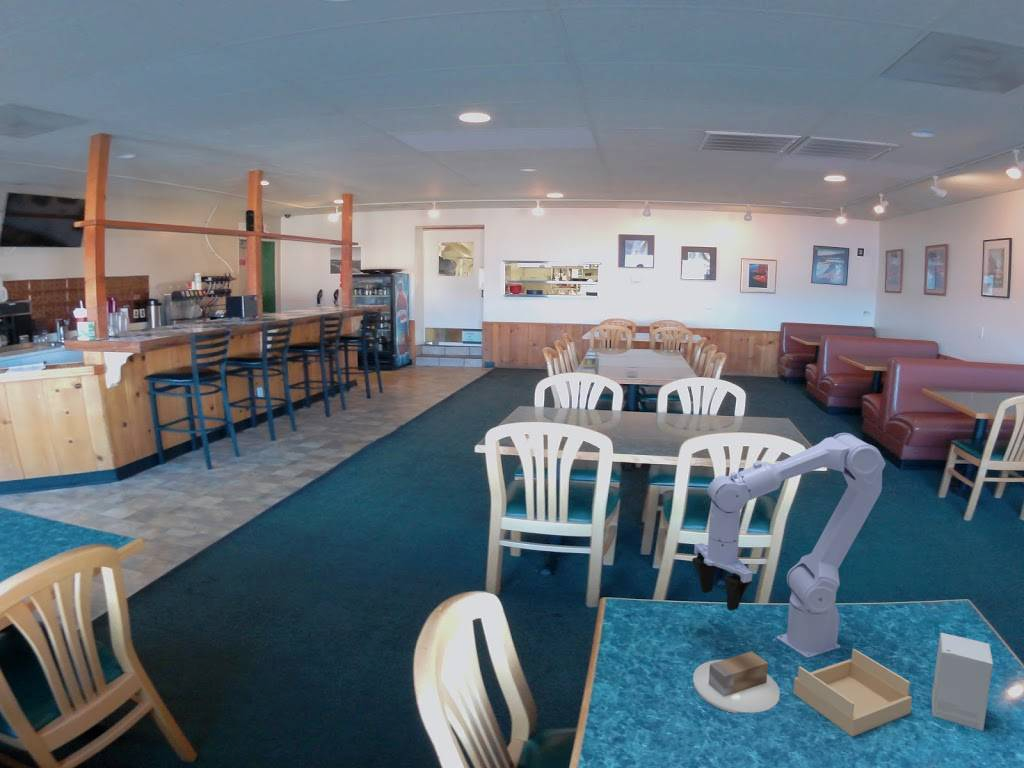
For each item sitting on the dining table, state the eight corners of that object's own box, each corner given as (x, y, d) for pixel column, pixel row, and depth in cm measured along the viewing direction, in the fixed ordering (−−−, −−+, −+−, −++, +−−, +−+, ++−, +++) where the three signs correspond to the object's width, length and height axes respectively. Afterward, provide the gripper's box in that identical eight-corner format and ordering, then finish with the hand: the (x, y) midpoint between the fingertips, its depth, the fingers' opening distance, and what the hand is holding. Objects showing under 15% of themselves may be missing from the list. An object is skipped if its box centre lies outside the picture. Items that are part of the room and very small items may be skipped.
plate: (737, 656, 131) (738, 652, 131) (798, 701, 117) (798, 697, 117) (676, 674, 125) (676, 671, 125) (732, 724, 111) (733, 720, 111)
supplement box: (984, 734, 109) (994, 664, 107) (931, 718, 113) (940, 650, 111) (981, 709, 116) (990, 643, 113) (931, 694, 119) (939, 630, 117)
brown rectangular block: (750, 670, 125) (751, 651, 124) (766, 682, 121) (768, 662, 121) (708, 684, 121) (709, 664, 120) (723, 696, 117) (725, 676, 117)
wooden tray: (848, 675, 125) (851, 646, 124) (910, 715, 114) (913, 684, 113) (792, 695, 119) (795, 665, 118) (851, 739, 108) (855, 706, 107)
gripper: (683, 526, 136) (680, 588, 139) (733, 554, 123) (729, 621, 126) (710, 521, 139) (707, 581, 142) (762, 548, 126) (757, 613, 129)
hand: (719, 600), depth 134 cm, fingers open, 7 cm apart
